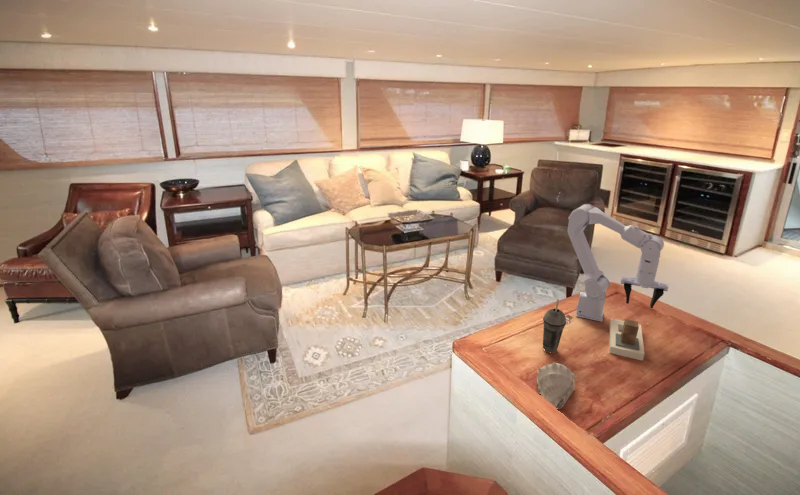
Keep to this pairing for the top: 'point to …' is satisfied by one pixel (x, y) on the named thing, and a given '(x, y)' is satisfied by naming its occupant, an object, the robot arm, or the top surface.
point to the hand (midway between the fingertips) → (639, 304)
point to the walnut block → (629, 331)
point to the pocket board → (623, 351)
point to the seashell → (555, 383)
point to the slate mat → (619, 343)
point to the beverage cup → (553, 328)
